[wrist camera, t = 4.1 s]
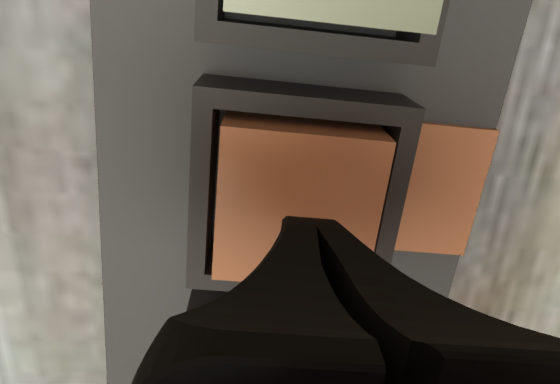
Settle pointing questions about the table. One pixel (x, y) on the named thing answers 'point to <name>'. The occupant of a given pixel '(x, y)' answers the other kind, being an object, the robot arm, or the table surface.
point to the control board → (287, 102)
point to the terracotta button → (294, 182)
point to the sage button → (350, 12)
